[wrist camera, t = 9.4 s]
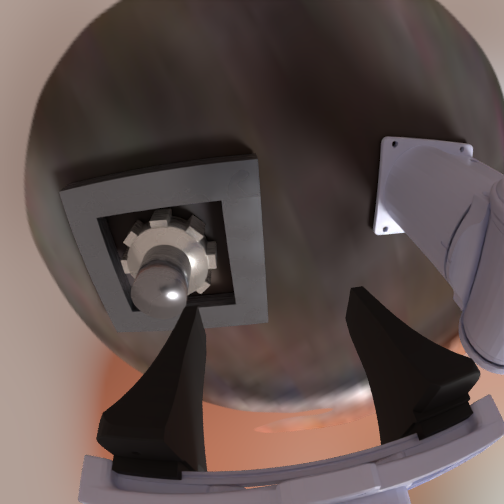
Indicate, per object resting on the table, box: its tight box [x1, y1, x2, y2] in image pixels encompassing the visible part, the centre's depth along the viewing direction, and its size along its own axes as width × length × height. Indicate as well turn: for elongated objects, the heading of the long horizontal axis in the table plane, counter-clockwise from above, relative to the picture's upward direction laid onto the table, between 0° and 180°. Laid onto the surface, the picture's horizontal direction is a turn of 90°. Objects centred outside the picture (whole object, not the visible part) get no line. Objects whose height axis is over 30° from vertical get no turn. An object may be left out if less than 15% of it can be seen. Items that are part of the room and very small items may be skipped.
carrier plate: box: [59, 153, 268, 332], centre depth 22 cm, size 14×14×2 cm
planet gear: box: [121, 208, 217, 319], centre depth 20 cm, size 7×7×6 cm
